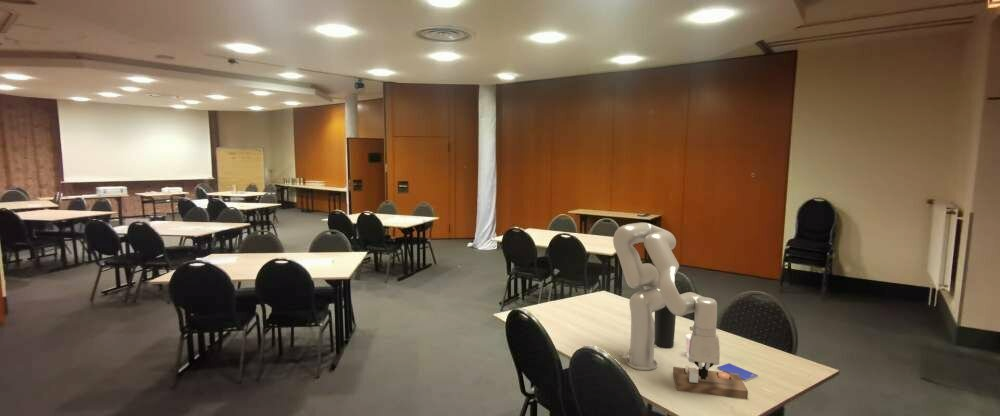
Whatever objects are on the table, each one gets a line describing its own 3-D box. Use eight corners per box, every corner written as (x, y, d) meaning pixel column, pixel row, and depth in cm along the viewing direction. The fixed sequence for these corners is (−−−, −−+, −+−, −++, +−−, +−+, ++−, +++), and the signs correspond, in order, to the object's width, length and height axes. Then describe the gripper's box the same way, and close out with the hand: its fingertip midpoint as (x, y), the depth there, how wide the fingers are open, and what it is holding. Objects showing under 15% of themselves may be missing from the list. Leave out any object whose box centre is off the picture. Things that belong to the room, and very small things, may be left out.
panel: (677, 390, 173) (677, 382, 172) (673, 373, 186) (673, 366, 186) (747, 399, 167) (748, 391, 166) (738, 381, 180) (738, 373, 180)
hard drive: (758, 374, 183) (729, 362, 194) (745, 379, 180) (717, 366, 190) (757, 378, 184) (729, 366, 194) (745, 383, 180) (716, 370, 190)
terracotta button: (718, 383, 177) (719, 376, 176) (716, 378, 181) (717, 371, 180) (730, 384, 176) (730, 377, 175) (727, 379, 180) (728, 372, 179)
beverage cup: (702, 358, 201) (704, 327, 200) (691, 360, 199) (693, 328, 198) (692, 352, 207) (694, 322, 205) (681, 354, 205) (683, 324, 203)
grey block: (689, 382, 172) (689, 373, 172) (687, 376, 177) (687, 367, 177) (697, 383, 172) (698, 374, 171) (695, 376, 176) (696, 368, 176)
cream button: (685, 376, 180) (686, 369, 179) (684, 371, 184) (684, 364, 183) (696, 377, 179) (697, 370, 178) (695, 373, 183) (695, 365, 182)
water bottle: (679, 344, 216) (681, 296, 213) (670, 351, 208) (672, 301, 206) (658, 338, 222) (659, 292, 220) (648, 345, 215) (650, 297, 213)
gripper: (684, 332, 170) (683, 380, 171) (729, 336, 166) (726, 385, 168) (682, 325, 177) (680, 371, 179) (724, 329, 173) (722, 376, 175)
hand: (702, 378), depth 173 cm, fingers closed
